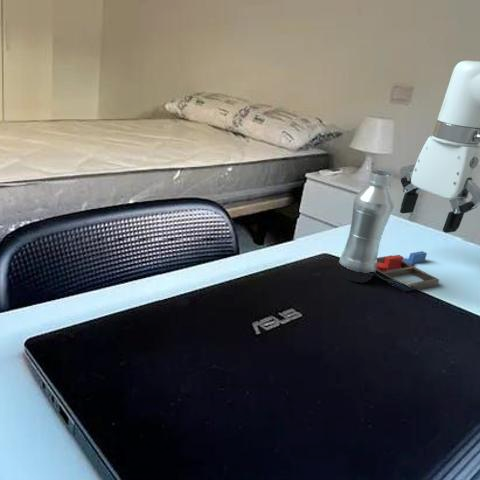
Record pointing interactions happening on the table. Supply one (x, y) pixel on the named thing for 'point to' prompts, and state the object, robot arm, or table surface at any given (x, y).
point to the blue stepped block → (415, 257)
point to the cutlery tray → (409, 269)
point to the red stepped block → (390, 263)
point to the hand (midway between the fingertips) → (426, 221)
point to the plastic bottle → (368, 223)
